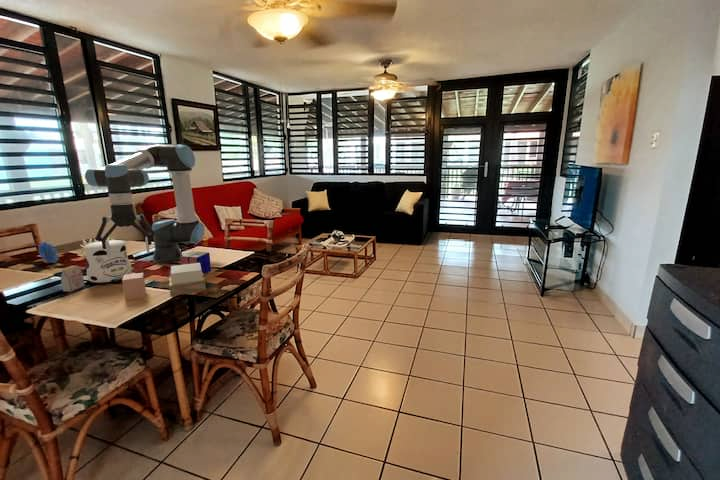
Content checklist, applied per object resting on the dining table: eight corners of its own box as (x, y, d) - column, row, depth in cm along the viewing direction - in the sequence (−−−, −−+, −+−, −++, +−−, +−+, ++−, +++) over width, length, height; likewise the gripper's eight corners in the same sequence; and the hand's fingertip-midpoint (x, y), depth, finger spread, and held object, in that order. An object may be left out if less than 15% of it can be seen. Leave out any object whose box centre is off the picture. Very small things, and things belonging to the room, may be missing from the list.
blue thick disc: (33, 264, 183) (28, 243, 180) (46, 261, 189) (42, 240, 186) (50, 266, 181) (45, 244, 178) (63, 262, 187) (59, 241, 184)
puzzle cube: (199, 276, 168) (197, 257, 166) (181, 275, 170) (179, 256, 167) (211, 270, 177) (209, 252, 175) (194, 269, 179) (192, 251, 177)
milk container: (119, 286, 154) (113, 248, 150) (79, 286, 153) (72, 248, 149) (140, 273, 171) (135, 239, 167) (104, 274, 170) (98, 239, 165)
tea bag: (63, 291, 148) (58, 269, 145) (77, 285, 154) (73, 265, 152) (70, 291, 147) (66, 270, 145) (84, 286, 154) (80, 265, 152)
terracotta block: (127, 294, 145) (124, 274, 143) (146, 291, 149) (143, 272, 146) (125, 300, 139) (122, 280, 137) (145, 297, 143) (142, 277, 141)
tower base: (170, 286, 156) (169, 276, 155) (203, 281, 163) (202, 271, 162) (170, 297, 144) (169, 286, 143) (206, 291, 151) (205, 280, 150)
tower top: (172, 276, 155) (171, 266, 154) (201, 272, 160) (199, 262, 159) (172, 284, 145) (170, 273, 143) (202, 280, 150) (201, 269, 149)
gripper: (80, 206, 125) (89, 260, 130) (157, 203, 137) (163, 253, 142) (84, 204, 132) (93, 255, 137) (157, 201, 144) (163, 249, 148)
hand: (129, 254), depth 139 cm, fingers open, 13 cm apart
